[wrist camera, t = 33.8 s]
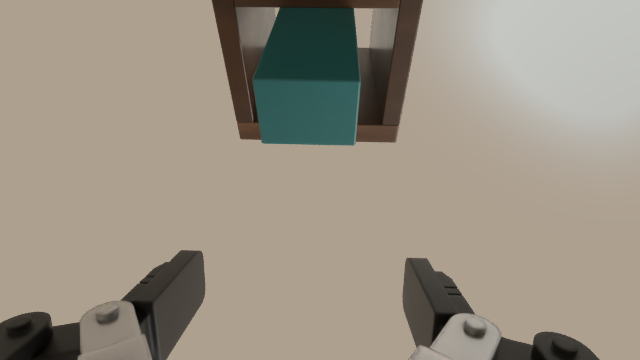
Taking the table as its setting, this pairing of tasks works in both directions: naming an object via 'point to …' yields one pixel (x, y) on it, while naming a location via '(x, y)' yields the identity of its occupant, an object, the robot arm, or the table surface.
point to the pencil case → (309, 78)
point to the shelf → (374, 62)
